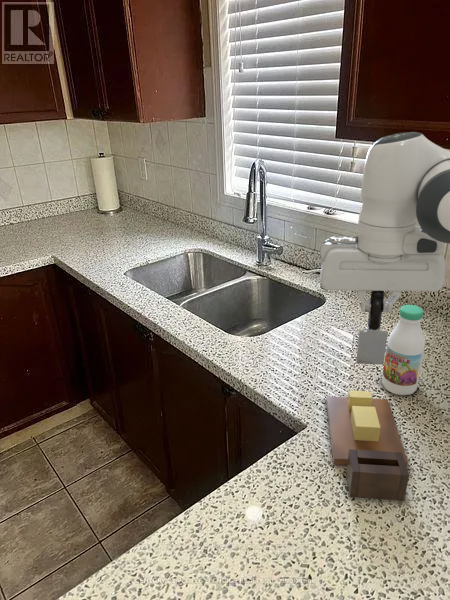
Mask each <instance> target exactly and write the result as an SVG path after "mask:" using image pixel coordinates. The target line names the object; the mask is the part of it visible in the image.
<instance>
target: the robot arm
mask: <svg viewBox="0 0 450 600" xmlns="http://www.w3.org/2000/svg"><path fill="white" fill-rule="evenodd" d="M360 191H361V192H360V195H361V199H362V205H361V206H362V207H361V209H360V213H359V215H358V223H357V233H356V236H343V237H342V236H341V237H339V236H331V237H329V238H328V239H325V240H324V241H322V243H321V244H320V247H319V258H320V260H321V261H322V262H321V266H320V273H319V282H320V286H321V288H323V289H324V290H325V291H356V295H357V297H358V299H359V301H360V311H361V313H369V312H370V311H371V309H370V308H371V302H370V299H366V298H365V296H366V295H367V292H372V291H384V292H390V295H389V296H388V297H387V298H386V299H384V300H383V308H382V313H392V309H393V305H394V304H395V303H396V302H397V301H398V300H399V299H400V297H401V294H402V292H428V293H429V292H431V293H432V292H433V293H436V292H438V291H440V290H441V289H442V288H443V286H444V283H445V278H446V259H445V257H444V256H443V254H442V253H443V250H444V249H445V244H448V245H449V244H450V150H448V149H446V148H445V147H444V148H443V147H442V146H440V145H439V144H436V143H434V142H432V141H431V140H429V139H428V138H427V137H426V136H425V135H424V134H423V133H421V132H418V131H409V132H408V131H407V132H398V133H393V134H389V135H385V136H382V137H381V138H379V139H377V140H375V142H373V144H372V145H371V146H370V147H369V149H368V151H367V154H366V158H365V162H364V166H363V172H362V179H361V189H360ZM416 223H418V225H417V224H416Z"/></svg>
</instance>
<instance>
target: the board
mask: <svg viewBox="0 0 450 600" xmlns="http://www.w3.org/2000/svg"><path fill="white" fill-rule="evenodd" d="M325 405H326V412H327V420H328V428H329V437H330V444H331V454H332V462H333V465H336V466H347V462H348V453H349V449H353V450H370V451H386V452H402V453H403V456H404V460H405V463H406V466H407V467H408V465H409V462H408V459H407V455H406V453H405V449H404V446H403V443H402V440H401V437H400V434H399V430H398V427H397V424H396V421H395V418H394V415H393V411H392V407H391V405H390V402H389V399H388V398H372V405H371V407H375V409H376V413H377V416H378V420H379V424H380V434H379V441H362V440H354V435H353V430H352V424H351V410H349V409H348V396H329V395H326V398H325Z"/></svg>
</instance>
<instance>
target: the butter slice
mask: <svg viewBox="0 0 450 600" xmlns="http://www.w3.org/2000/svg"><path fill="white" fill-rule="evenodd" d="M347 395H348V396H347V397H348V409H349V410H352V406H367V407H371V405H372V399H373V395H372V392H371V391H370V390H369V391H367V390H348V394H347Z"/></svg>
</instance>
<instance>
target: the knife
mask: <svg viewBox="0 0 450 600" xmlns="http://www.w3.org/2000/svg"><path fill="white" fill-rule="evenodd" d="M369 300H370V302H371V308H370V309H371V311H370V312H368V318H367V326H366V327H365V328H366V329H363V330H362V329H360V330H358V337H357V338H358V339H357V349H356V361H355V364H359V365H383V366H384V362H385V355H386V349H387V342H388V333H389V332H388V330H382V329H381V323H382V315H383V312H382V308H383V300H385V291H370V298H369Z"/></svg>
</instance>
